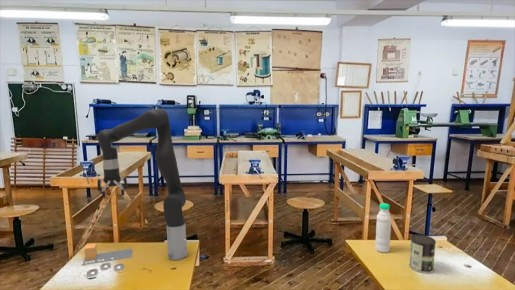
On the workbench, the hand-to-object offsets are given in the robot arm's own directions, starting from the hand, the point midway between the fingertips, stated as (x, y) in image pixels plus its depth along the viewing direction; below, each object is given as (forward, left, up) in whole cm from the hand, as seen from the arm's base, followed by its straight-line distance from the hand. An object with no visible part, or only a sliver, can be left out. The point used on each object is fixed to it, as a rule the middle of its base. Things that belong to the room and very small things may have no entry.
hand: (113, 197), depth 165 cm
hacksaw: (-15, +22, -29) cm, 39 cm away
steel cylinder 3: (-3, +27, -28) cm, 39 cm away
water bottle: (-132, +53, -28) cm, 145 cm away
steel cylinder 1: (+8, +28, -28) cm, 40 cm away
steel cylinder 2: (+3, +24, -28) cm, 37 cm away
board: (+3, +13, -28) cm, 31 cm away
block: (+11, +11, -27) cm, 31 cm away
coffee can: (-137, +73, -28) cm, 158 cm away
